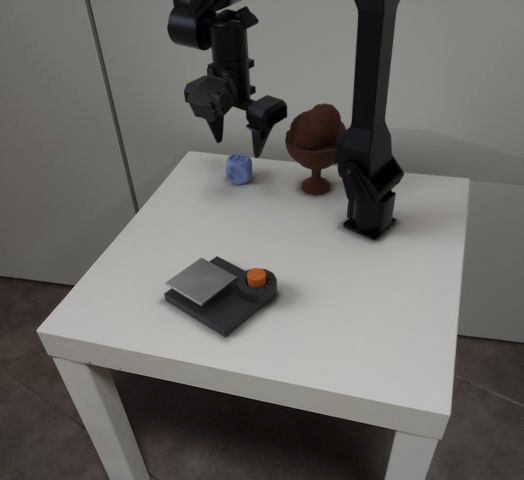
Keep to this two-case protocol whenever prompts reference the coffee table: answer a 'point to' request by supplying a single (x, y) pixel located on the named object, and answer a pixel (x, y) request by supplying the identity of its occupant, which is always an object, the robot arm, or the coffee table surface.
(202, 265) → the scale pan
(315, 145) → the ice cream bowl
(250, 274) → the tare button
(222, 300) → the scale
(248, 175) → the decorative dice
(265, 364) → the coffee table surface
